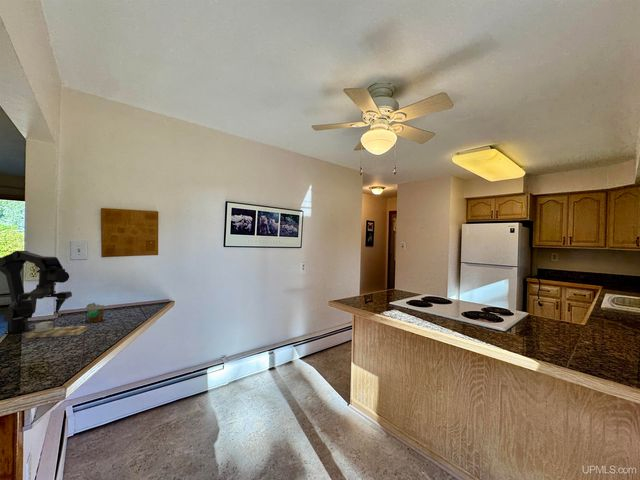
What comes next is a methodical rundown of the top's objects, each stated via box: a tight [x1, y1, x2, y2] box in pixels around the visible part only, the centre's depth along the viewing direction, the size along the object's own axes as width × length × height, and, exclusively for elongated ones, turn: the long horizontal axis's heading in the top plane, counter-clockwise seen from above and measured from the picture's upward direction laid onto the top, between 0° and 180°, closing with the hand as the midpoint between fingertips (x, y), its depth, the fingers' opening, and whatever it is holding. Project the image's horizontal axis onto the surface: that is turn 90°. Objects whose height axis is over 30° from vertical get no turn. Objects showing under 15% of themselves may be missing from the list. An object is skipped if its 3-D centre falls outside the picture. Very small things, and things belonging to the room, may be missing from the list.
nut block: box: [35, 321, 54, 333], centre depth 134 cm, size 5×5×6 cm
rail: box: [24, 325, 89, 339], centre depth 136 cm, size 21×9×2 cm, turn 109°
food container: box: [85, 302, 105, 324], centre depth 158 cm, size 12×6×10 cm, turn 62°
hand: (45, 312), depth 134 cm, fingers open, 9 cm apart
